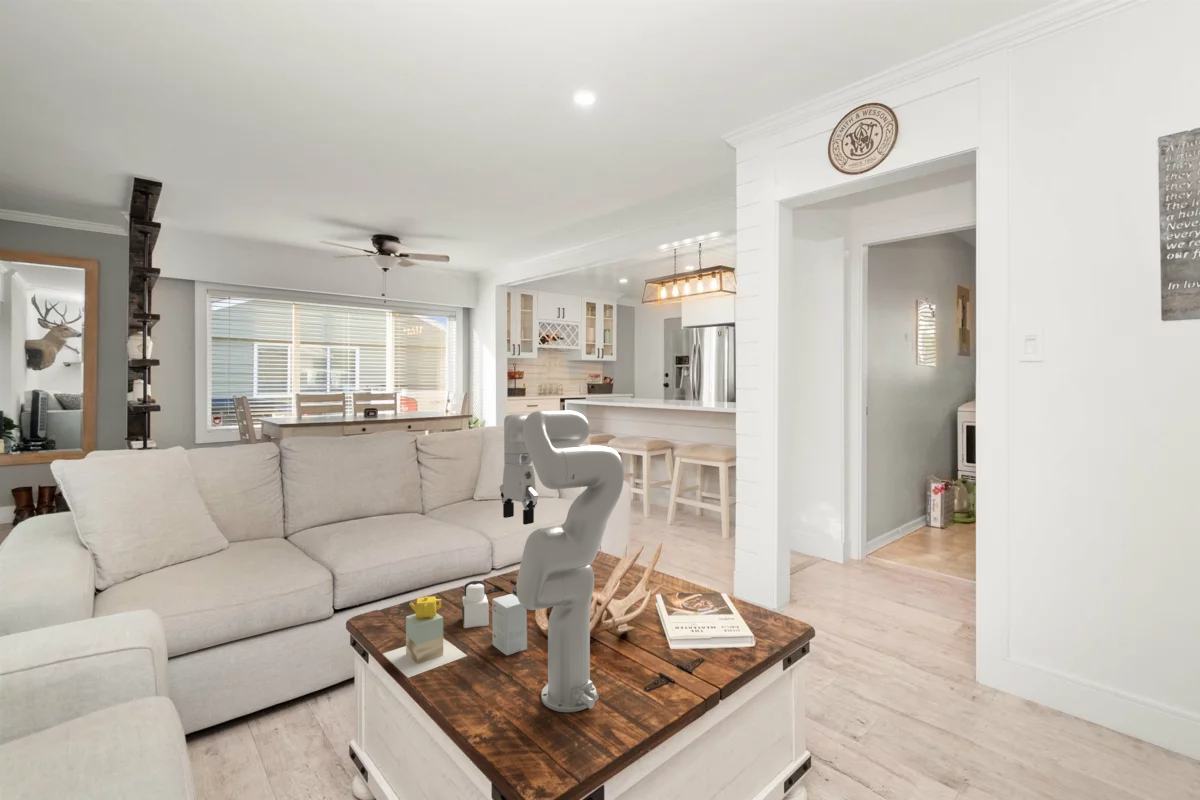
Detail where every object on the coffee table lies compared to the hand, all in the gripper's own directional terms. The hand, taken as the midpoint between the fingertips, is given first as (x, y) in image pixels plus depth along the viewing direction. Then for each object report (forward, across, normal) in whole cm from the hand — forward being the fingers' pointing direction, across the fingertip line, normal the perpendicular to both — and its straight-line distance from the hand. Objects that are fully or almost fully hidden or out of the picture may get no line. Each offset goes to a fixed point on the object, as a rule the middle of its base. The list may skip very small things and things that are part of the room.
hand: (518, 520), depth 155 cm
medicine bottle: (+34, +17, +4) cm, 38 cm away
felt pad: (+33, +8, +24) cm, 42 cm away
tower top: (+28, +8, +24) cm, 38 cm away
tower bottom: (+33, +8, +24) cm, 42 cm away
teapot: (+23, +8, +24) cm, 34 cm away
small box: (+34, -3, +5) cm, 34 cm away
